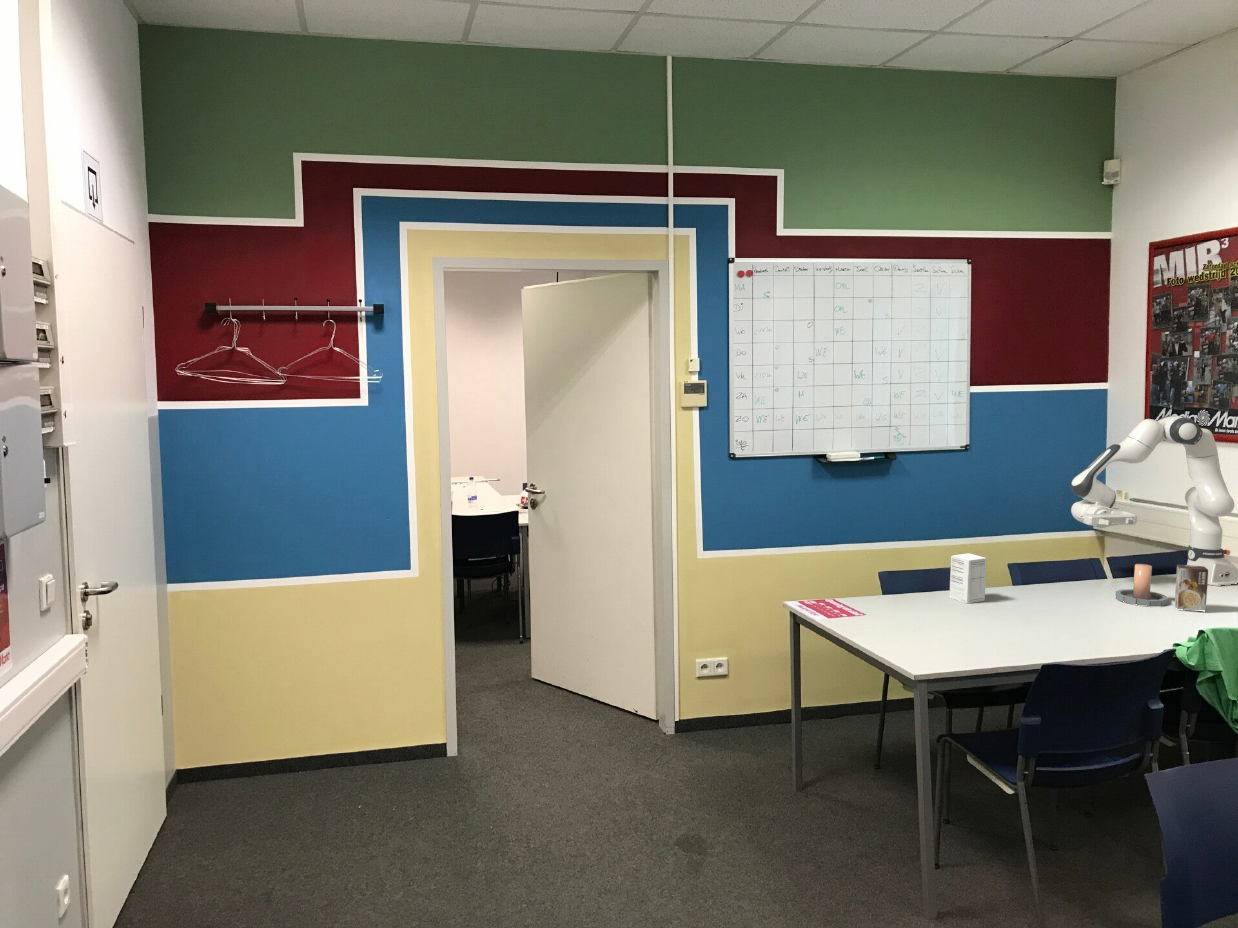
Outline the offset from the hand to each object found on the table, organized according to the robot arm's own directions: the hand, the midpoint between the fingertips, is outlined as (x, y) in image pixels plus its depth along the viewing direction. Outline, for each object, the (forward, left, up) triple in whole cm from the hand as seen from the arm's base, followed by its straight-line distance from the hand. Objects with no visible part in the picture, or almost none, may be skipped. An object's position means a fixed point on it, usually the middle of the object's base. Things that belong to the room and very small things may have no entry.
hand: (1121, 522), depth 362 cm
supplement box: (+66, +9, -28) cm, 72 cm away
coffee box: (-10, +28, -28) cm, 41 cm away
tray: (0, +15, -27) cm, 31 cm away
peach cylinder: (0, +15, -27) cm, 31 cm away
